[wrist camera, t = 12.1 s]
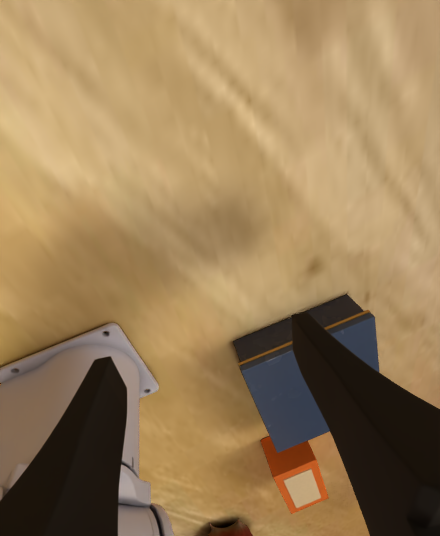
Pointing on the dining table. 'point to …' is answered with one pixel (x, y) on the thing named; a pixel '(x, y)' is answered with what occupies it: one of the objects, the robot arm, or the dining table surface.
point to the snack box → (296, 474)
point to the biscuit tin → (288, 373)
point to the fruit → (231, 530)
